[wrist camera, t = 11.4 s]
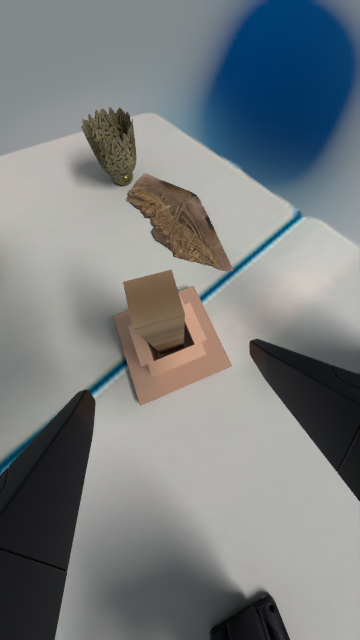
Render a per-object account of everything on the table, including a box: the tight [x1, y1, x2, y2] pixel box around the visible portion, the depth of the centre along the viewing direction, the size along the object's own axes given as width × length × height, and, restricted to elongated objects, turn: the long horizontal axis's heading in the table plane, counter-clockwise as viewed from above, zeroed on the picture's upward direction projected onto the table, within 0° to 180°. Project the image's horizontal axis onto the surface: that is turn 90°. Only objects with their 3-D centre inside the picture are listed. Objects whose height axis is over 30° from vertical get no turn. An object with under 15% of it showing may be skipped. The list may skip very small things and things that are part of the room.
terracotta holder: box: [113, 286, 232, 405], centre depth 21 cm, size 12×12×5 cm
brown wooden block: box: [123, 270, 185, 354], centre depth 16 cm, size 3×3×13 cm
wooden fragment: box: [126, 173, 233, 271], centre depth 29 cm, size 26×11×1 cm, turn 33°
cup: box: [82, 108, 136, 185], centre depth 29 cm, size 8×7×8 cm
